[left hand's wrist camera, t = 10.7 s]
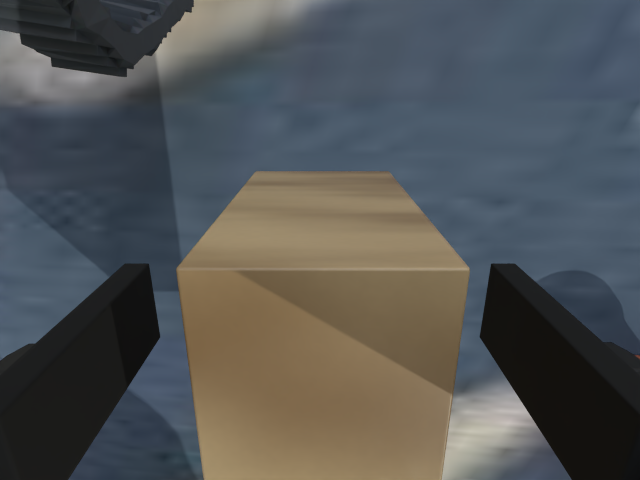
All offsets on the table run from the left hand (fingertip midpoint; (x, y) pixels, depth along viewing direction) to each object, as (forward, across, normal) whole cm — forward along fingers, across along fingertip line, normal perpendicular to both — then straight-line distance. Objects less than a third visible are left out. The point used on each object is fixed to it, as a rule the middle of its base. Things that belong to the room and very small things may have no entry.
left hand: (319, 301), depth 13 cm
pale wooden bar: (+2, 0, +9) cm, 9 cm away
